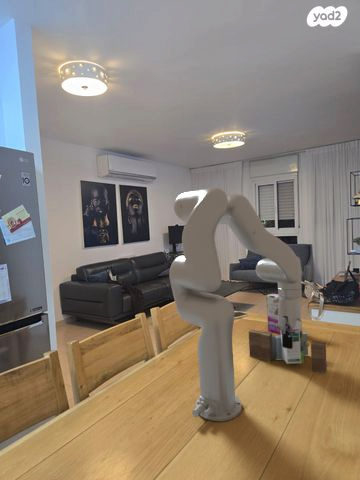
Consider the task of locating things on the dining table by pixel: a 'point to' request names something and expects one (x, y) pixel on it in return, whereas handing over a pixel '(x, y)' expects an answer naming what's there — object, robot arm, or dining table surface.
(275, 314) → the candy bar box
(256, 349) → the door frame
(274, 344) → the door
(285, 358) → the syrup box
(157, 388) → the dining table surface
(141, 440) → the dining table surface
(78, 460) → the dining table surface
